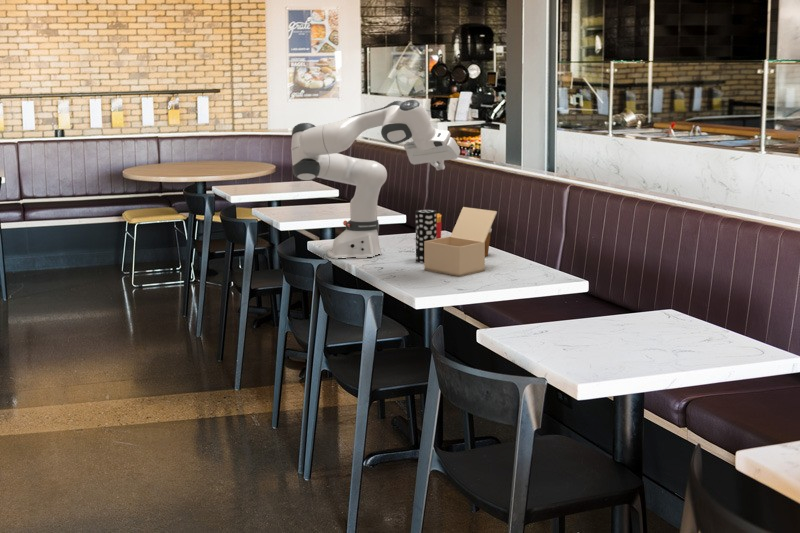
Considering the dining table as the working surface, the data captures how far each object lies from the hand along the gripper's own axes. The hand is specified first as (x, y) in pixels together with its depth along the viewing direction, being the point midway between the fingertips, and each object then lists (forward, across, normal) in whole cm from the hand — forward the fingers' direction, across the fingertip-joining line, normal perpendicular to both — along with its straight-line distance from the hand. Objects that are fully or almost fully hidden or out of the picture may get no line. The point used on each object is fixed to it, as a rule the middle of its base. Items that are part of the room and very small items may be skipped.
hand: (441, 168), depth 360 cm
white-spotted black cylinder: (+37, -20, -10) cm, 43 cm away
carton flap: (+26, +3, -2) cm, 26 cm away
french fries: (+55, -36, +22) cm, 69 cm away
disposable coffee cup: (+50, -6, +6) cm, 51 cm away
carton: (+33, -2, -20) cm, 39 cm away
